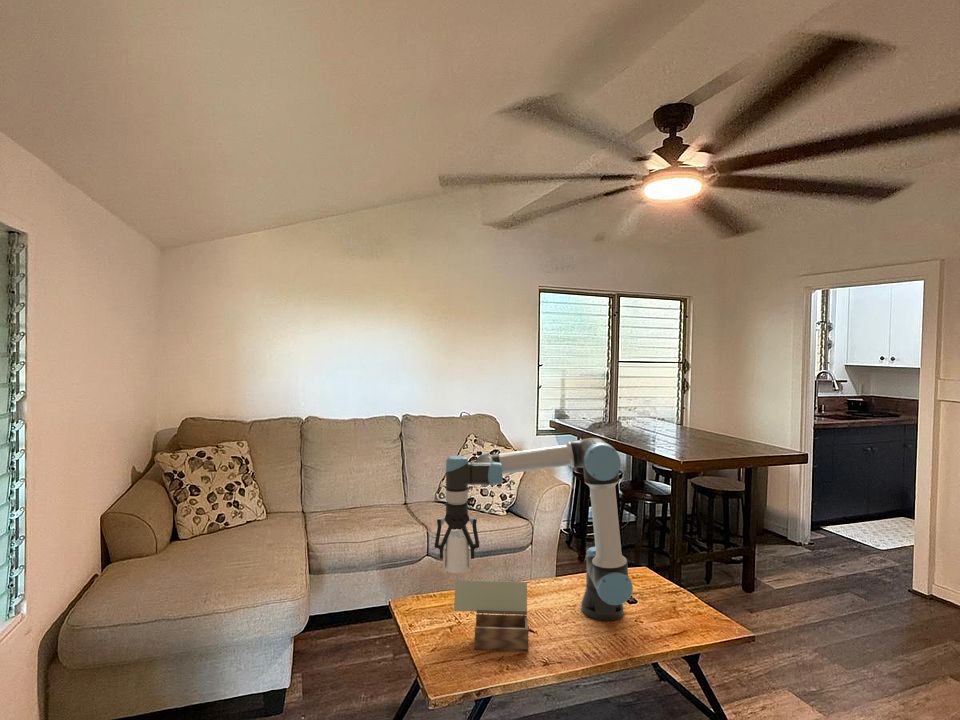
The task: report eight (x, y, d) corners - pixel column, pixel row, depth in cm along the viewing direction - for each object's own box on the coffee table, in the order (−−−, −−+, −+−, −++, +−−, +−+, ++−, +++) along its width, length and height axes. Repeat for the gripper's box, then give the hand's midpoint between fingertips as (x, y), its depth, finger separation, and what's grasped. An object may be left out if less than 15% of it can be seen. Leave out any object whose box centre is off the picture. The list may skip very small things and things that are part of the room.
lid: (527, 614, 176) (526, 614, 179) (526, 582, 180) (526, 581, 182) (453, 612, 178) (454, 611, 180) (455, 580, 181) (455, 579, 183)
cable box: (527, 636, 176) (527, 615, 176) (528, 651, 168) (528, 629, 167) (476, 634, 177) (476, 614, 177) (474, 649, 168) (474, 627, 168)
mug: (473, 576, 177) (473, 540, 177) (448, 578, 175) (448, 542, 175) (467, 562, 188) (467, 529, 188) (443, 564, 187) (443, 530, 187)
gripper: (487, 498, 185) (487, 563, 186) (427, 498, 186) (428, 563, 186) (487, 504, 178) (487, 572, 178) (425, 504, 178) (425, 572, 178)
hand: (457, 567), depth 182 cm, fingers closed on mug, 8 cm apart
